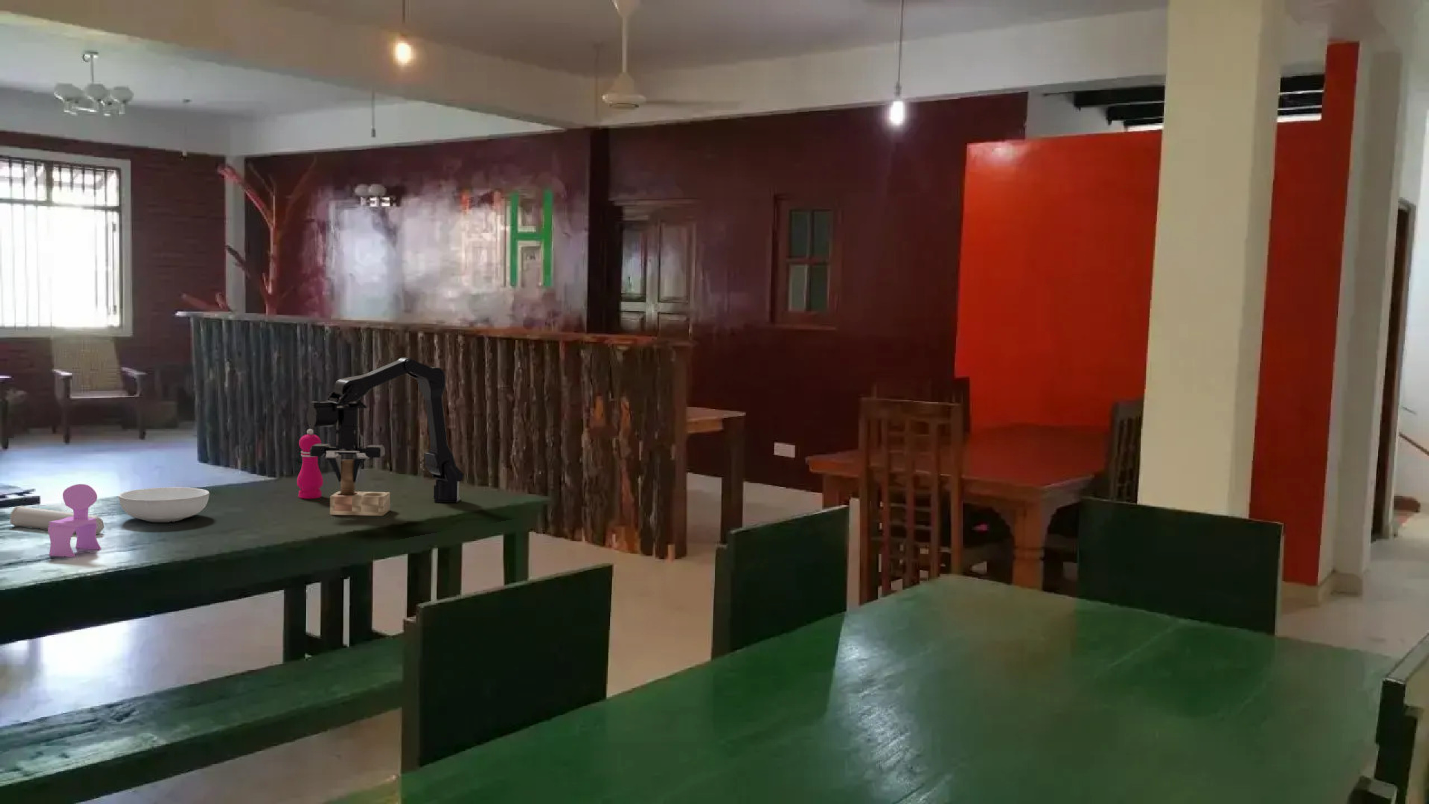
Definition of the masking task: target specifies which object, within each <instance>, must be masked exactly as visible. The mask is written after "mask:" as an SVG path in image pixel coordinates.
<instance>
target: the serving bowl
mask: <svg viewBox="0 0 1429 804" xmlns="http://www.w3.org/2000/svg"><path fill="white" fill-rule="evenodd" d="M209 498H210V492H209V490H206V489H201V488H195V487H173V486H172V487H170V486H169V487H151V488H142V489H141V488H140V489H133V490H128V491H124V492H122V493H119V495H118V501H119V504H120V507H121V508H122V510H123V512H125V513H126V514H127V515H128V516H130V517H131V518H135V519H138V520H143V521H146V522H150V523H169V522H171V521H172V522H178V521H183V519H187V518H189V517H193V516H195V515H197V514H199V513H200V512H202V511H203V510H204V509H205V507H206V506H207V505H208V501H209Z"/></svg>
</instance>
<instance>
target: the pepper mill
mask: <svg viewBox="0 0 1429 804" xmlns="http://www.w3.org/2000/svg"><path fill="white" fill-rule="evenodd" d="M298 444H299V445H298V446H299V448H300V449H301V451H300V456H301V457H302V463H301V469H300V471H299V473H298V475H297V478H296V485H297V487H298V488H299V489H300V490H299V491H298V498H300V499H305V500H308V499H311V500H312V499H319V498H321V497H322V490H321V487H322V486H323V485H324V479H323V475H322V472H321V470H320V468H319V467H320V466H319V461H318V458H319V456H310V448H311V447H312V446H313V445H316V444H322V440H321V438H320V437H319V436H318V435H316V434H314V430H313V429H312V428H309V429H307V430H306V434H304V435H303V436H301V438H300V439H299V441H298Z"/></svg>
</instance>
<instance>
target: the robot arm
mask: <svg viewBox="0 0 1429 804" xmlns="http://www.w3.org/2000/svg"><path fill="white" fill-rule="evenodd" d="M406 374H407V376H409V377H412V378H414V379H415V380H416V381H417V385H418V389H419V391H420V392H421V395H422V396H423V398H424V401H425V408H426V409H425V410H426V411H425V412H426V418H427V425H428V434H429V442H430V448H429V450H428V452H424V455H423V457H424V459H425V464H424V466H425V467H427V471H428V472H430V473H431V476H432V479H433V480H435V484H434V485H433V499H434V502H435V503H458V502H459V501H460V499H461V497H460V482H462V481H463V480H464V479H463V478H464V475H465V474H464V473H463V472H462V471H461V469H460V468H458V466H457V464H456V460H455V457H454V453H453V452H452V450H451V448H450V447H449V445H448V438H447V429H446V428H447V427H446V422H445V420H446V419H445V411H444V404H443V403H444V402H443V395H444V392H445V389H446V380H447V379H446V378H447V377H446V373H445V371H444V370H443V369H442V368H440V367H438V366H428V365H426V364H424V363H422V362H418V361H417V360H414V359H413V358H411V357H410V358H409V357H400V358H399V359H398V360H395V361H394V362H391V363H388V364H386V365H383V366H381V367H379V368H376V369H375V370H372V371H370V372H368V373H365V374H364V373H363V374H361V375H356V376H348V377H344V378H340V379H338V380H336V382H335V384H334V386H333V390H332V391H331V393H330V394H329V396H328V397H327V398H326V399H325V401H311V402H310V406H309V408H307V409H308V410H307V413H306V420H307V424H308V426H309V427H311V428H323V427H325V428H326V427H333V426H335V424H336V429H335V434H336V440H335V441H336V444H335V446H331V444H330V443H321V444H316V445H313V446H312V447H311V448H310V456H318V457H323V456H324V455H325V457H324V460H325V461H328V462H329V464H330V465H331V468H332V469H333V471H334V474H335V475H336V478H337V480H338V482H339V483H341V460H342V455H356V457H355V458H354V459H353V460H354V475H353V479H354V482H355V483H356V482H357V481H358V478H359V475H360V472H361V469H362V467H363V464H364V463H365V462H366V461H367V460H369V459H370V458H373V459H375V458H382V457H384V456H385V454H386V448H385V446H384V445H383V444H369V445H367V446H365V447H364V443H365V441H364V440H365V437H364V436H363V435H362V434H361V433H360V432H361V429H360V409H361V410H362V409H367V408H368V407H367V405H366V404H365V403H363V401H362V400H361V398H362V397H364V396H366V395H367V394H368V393H369V392H370V391H371V390H372V389H374V388H375V387H378V386H380V385H382V384H386V383H388V382H389V381H391V380H394V379H397V378H398V377H401V376H403V375H406Z"/></svg>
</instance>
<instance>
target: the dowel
mask: <svg viewBox="0 0 1429 804" xmlns="http://www.w3.org/2000/svg"><path fill="white" fill-rule="evenodd" d="M353 475H354V459H349V458H348V459H347V458H346V459H341V482H340V491H341V495H348V496H354V495H355V492H356V490H355V486H356V482H354V479H353Z"/></svg>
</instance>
